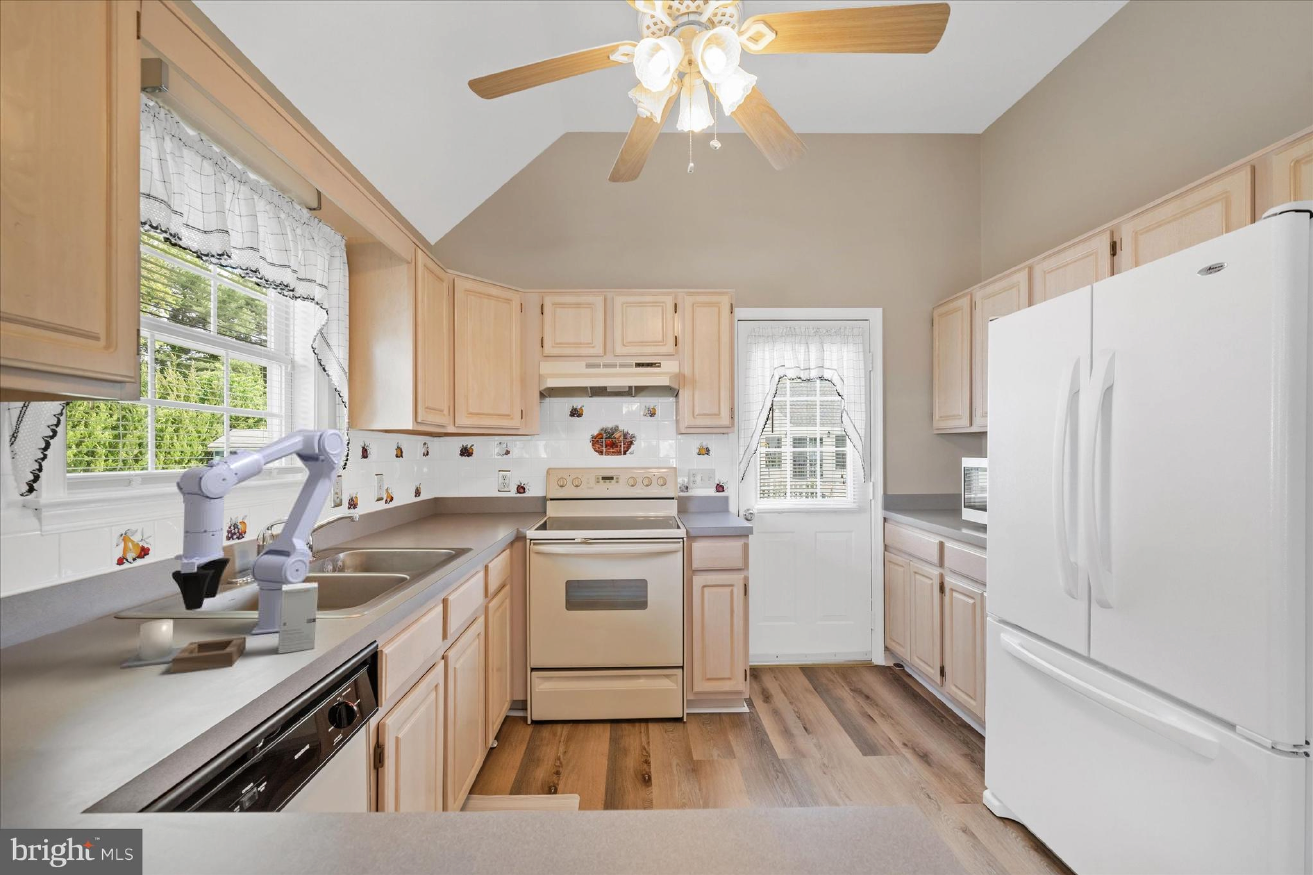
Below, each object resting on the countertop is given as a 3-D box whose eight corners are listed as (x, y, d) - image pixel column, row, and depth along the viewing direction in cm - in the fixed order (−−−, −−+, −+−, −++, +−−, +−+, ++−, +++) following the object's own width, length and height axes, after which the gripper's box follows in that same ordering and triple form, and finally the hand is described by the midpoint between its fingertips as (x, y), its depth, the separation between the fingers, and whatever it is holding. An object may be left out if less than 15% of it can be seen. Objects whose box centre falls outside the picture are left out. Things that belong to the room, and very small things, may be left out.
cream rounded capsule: (146, 653, 100) (147, 620, 100) (176, 650, 102) (177, 618, 102) (134, 662, 96) (135, 628, 96) (165, 658, 98) (166, 625, 98)
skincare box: (277, 654, 102) (279, 590, 102) (278, 647, 106) (280, 584, 106) (316, 648, 105) (318, 585, 105) (315, 641, 109) (317, 580, 109)
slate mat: (139, 654, 101) (139, 651, 101) (186, 648, 104) (187, 646, 104) (120, 668, 94) (120, 666, 94) (171, 662, 97) (171, 660, 97)
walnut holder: (190, 655, 100) (190, 642, 101) (245, 649, 104) (245, 636, 104) (171, 673, 93) (172, 658, 93) (231, 666, 96) (232, 652, 96)
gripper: (191, 525, 107) (189, 595, 107) (159, 537, 94) (157, 616, 94) (235, 524, 110) (233, 591, 110) (210, 535, 97) (208, 612, 96)
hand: (201, 603), depth 102 cm, fingers open, 7 cm apart
